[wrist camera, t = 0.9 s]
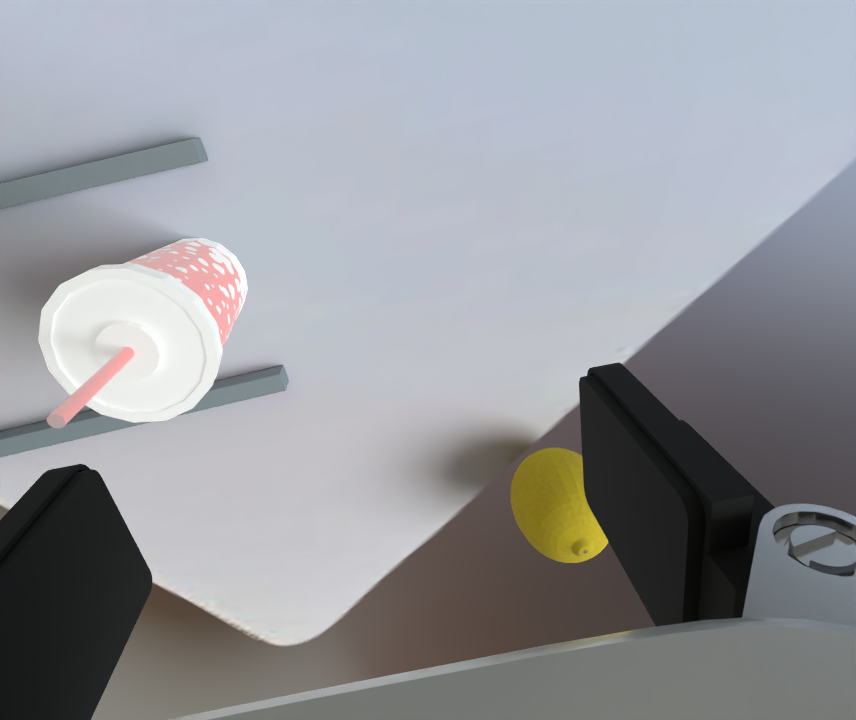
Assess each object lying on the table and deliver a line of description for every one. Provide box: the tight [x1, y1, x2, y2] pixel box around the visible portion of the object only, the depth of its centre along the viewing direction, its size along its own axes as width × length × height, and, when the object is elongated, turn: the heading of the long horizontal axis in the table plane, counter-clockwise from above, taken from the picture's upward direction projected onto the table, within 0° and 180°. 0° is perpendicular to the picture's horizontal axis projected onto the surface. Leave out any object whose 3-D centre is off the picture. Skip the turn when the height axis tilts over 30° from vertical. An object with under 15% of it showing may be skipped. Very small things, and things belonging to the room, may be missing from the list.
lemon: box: [511, 448, 609, 563], centre depth 31 cm, size 6×6×8 cm
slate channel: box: [0, 138, 289, 457], centre depth 27 cm, size 18×13×1 cm
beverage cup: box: [38, 238, 248, 428], centre depth 21 cm, size 6×6×14 cm
